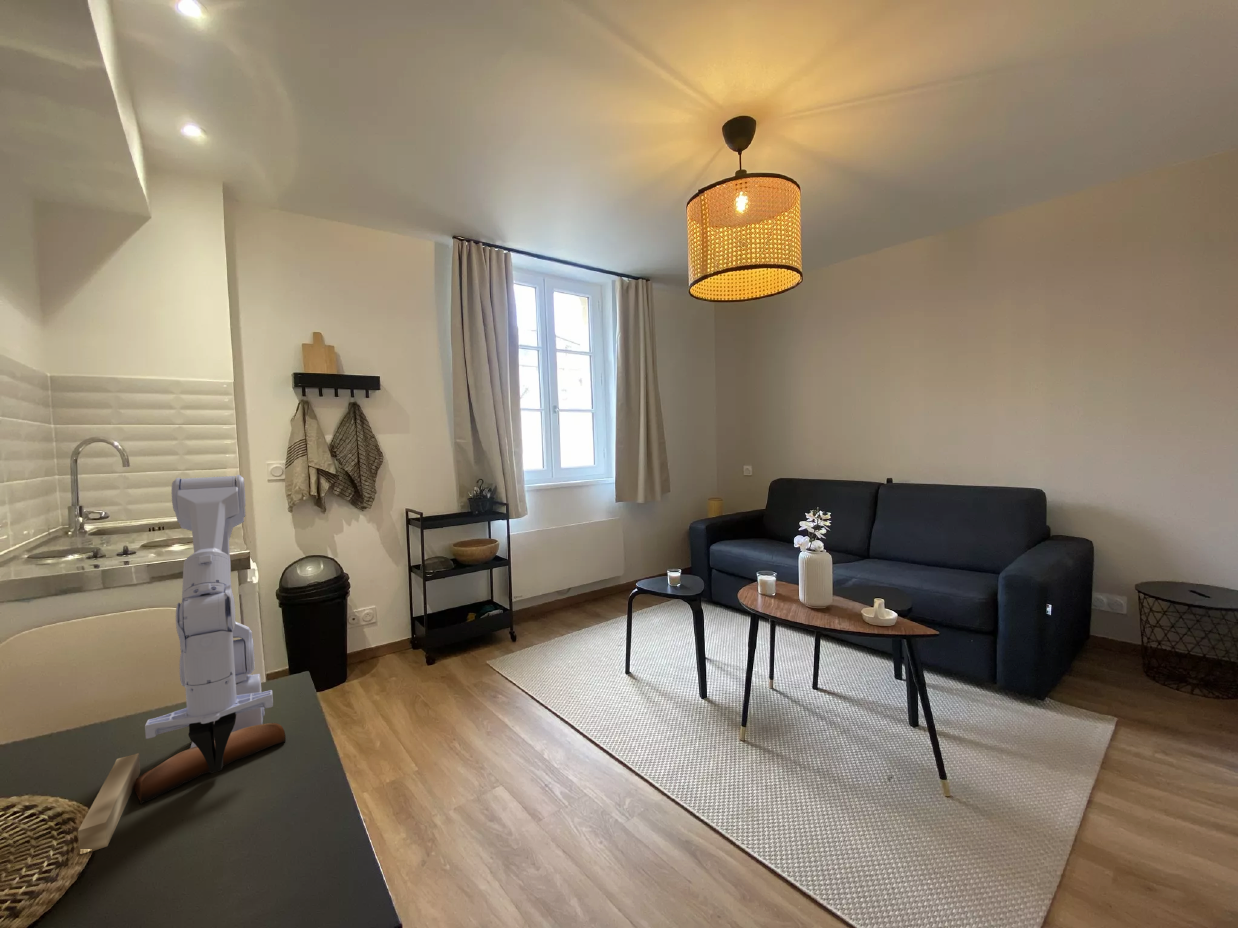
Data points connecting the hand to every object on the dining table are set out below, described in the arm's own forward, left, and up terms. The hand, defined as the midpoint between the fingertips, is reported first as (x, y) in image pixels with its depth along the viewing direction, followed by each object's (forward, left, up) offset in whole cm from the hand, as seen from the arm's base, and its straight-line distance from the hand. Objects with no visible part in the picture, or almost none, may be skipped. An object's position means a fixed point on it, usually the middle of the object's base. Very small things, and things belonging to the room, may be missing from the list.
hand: (216, 768), depth 76 cm
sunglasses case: (+1, -5, -2) cm, 6 cm away
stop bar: (+11, 0, -1) cm, 11 cm away
